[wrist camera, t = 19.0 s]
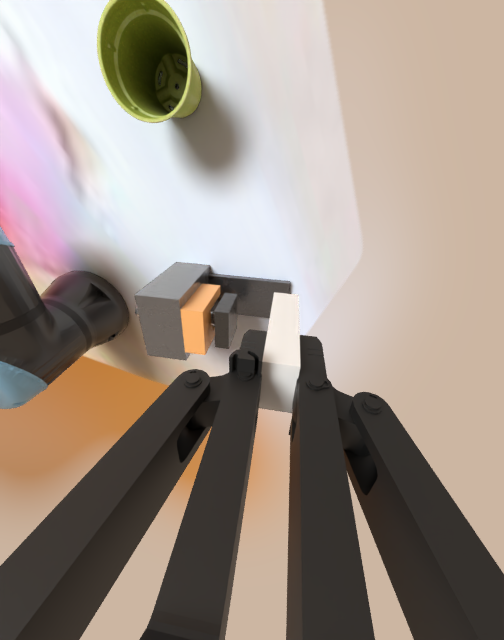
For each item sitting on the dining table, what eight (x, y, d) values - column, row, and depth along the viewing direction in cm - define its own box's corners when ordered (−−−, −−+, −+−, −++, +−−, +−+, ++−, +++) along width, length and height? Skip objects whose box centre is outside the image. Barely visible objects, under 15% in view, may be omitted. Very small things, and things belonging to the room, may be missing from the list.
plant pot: (148, 16, 29) (98, -36, 21) (225, 54, 30) (201, 17, 22) (138, 114, 34) (94, 99, 26) (203, 145, 34) (179, 138, 27)
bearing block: (182, 311, 49) (147, 355, 38) (176, 261, 44) (134, 294, 32) (284, 323, 47) (280, 373, 36) (291, 272, 42) (289, 312, 30)
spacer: (204, 320, 44) (185, 352, 36) (202, 283, 40) (180, 309, 33) (221, 322, 44) (205, 354, 36) (220, 285, 40) (202, 312, 32)
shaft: (151, 316, 43) (132, 336, 38) (145, 284, 40) (123, 301, 35) (236, 326, 42) (228, 348, 37) (237, 294, 39) (228, 313, 34)
